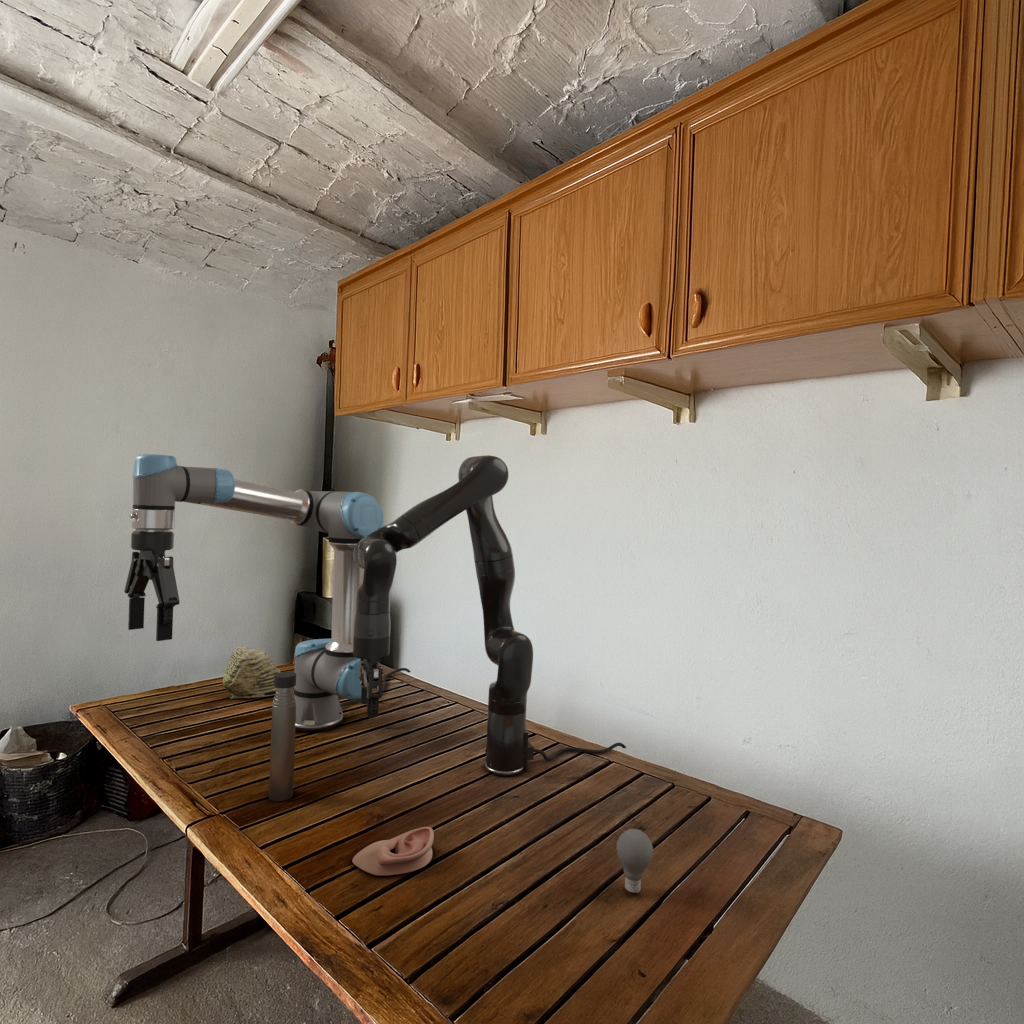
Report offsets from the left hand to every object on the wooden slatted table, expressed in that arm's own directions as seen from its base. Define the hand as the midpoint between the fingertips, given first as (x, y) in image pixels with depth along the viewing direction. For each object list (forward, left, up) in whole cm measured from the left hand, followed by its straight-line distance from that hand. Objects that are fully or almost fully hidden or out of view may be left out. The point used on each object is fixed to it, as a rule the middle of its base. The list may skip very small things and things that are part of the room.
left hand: (149, 634), depth 129 cm
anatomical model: (-20, +54, -34) cm, 67 cm away
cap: (-20, +19, -8) cm, 28 cm away
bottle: (-20, +19, -34) cm, 43 cm away
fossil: (-50, -47, -34) cm, 76 cm away
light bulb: (-41, +90, -34) cm, 104 cm away
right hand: (-31, +33, -15) cm, 47 cm away
